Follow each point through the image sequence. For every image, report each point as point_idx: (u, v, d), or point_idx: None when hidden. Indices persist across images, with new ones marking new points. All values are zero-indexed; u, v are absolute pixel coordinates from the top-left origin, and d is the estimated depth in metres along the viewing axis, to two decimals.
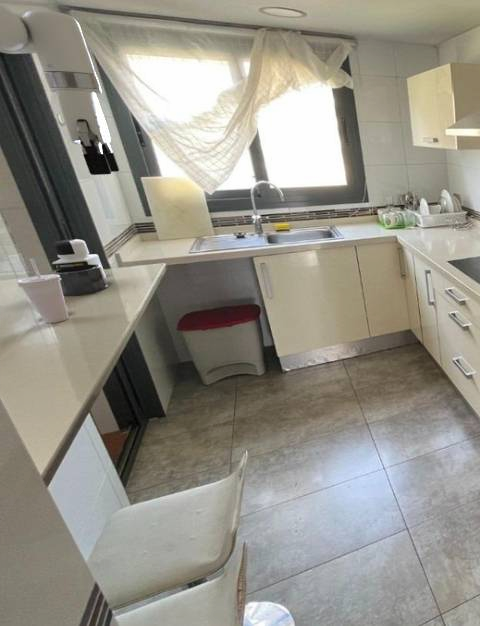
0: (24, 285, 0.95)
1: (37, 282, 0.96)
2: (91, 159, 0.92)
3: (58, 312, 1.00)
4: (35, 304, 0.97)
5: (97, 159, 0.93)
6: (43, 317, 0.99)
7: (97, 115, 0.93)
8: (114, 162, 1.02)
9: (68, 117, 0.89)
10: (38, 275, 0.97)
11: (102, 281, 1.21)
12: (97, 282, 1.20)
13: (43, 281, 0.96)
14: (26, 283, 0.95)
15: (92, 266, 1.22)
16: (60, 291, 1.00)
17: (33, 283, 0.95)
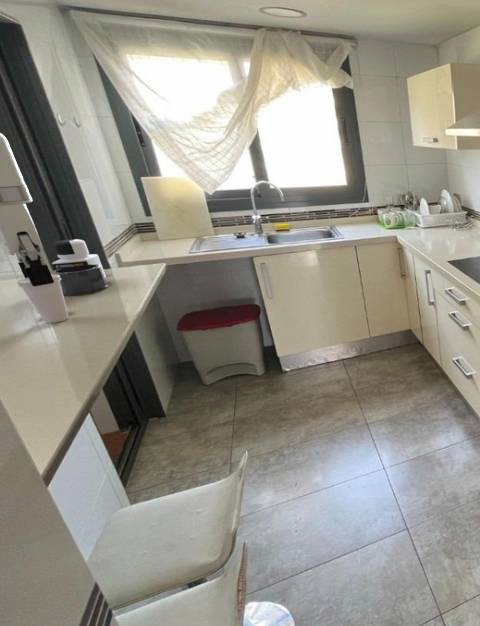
0: (24, 285, 0.95)
1: None
2: (35, 271, 0.94)
3: (58, 312, 1.00)
4: (35, 304, 0.97)
5: (40, 271, 0.95)
6: (43, 317, 0.99)
7: (34, 225, 0.94)
8: None
9: (7, 231, 0.90)
10: None
11: (102, 281, 1.21)
12: (97, 282, 1.20)
13: None
14: (26, 283, 0.95)
15: (92, 266, 1.22)
16: (60, 291, 1.00)
17: None
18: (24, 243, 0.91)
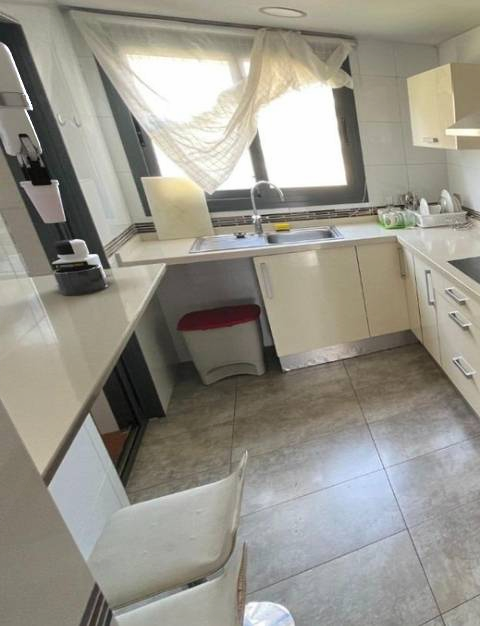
0: (26, 185, 1.06)
1: None
2: (35, 172, 1.05)
3: (56, 213, 1.11)
4: (35, 203, 1.09)
5: (39, 172, 1.06)
6: (43, 217, 1.10)
7: (34, 130, 1.05)
8: None
9: (10, 132, 1.01)
10: None
11: (102, 281, 1.21)
12: (97, 282, 1.20)
13: None
14: (27, 183, 1.06)
15: (92, 266, 1.22)
16: (58, 194, 1.11)
17: None
18: (25, 143, 1.02)
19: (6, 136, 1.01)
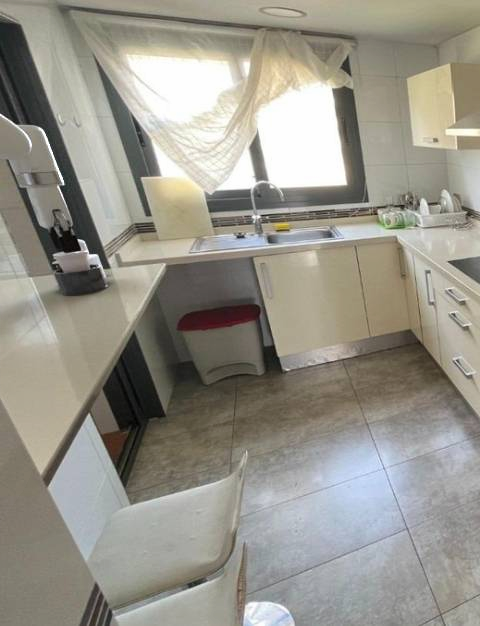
0: (59, 257, 1.14)
1: (69, 255, 1.15)
2: (66, 240, 1.12)
3: None
4: None
5: (70, 240, 1.13)
6: None
7: None
8: None
9: (44, 208, 1.09)
10: None
11: (102, 281, 1.21)
12: (97, 282, 1.20)
13: (74, 254, 1.16)
14: (60, 256, 1.14)
15: (92, 266, 1.22)
16: (87, 264, 1.19)
17: (66, 256, 1.15)
18: (57, 215, 1.09)
19: (41, 212, 1.09)
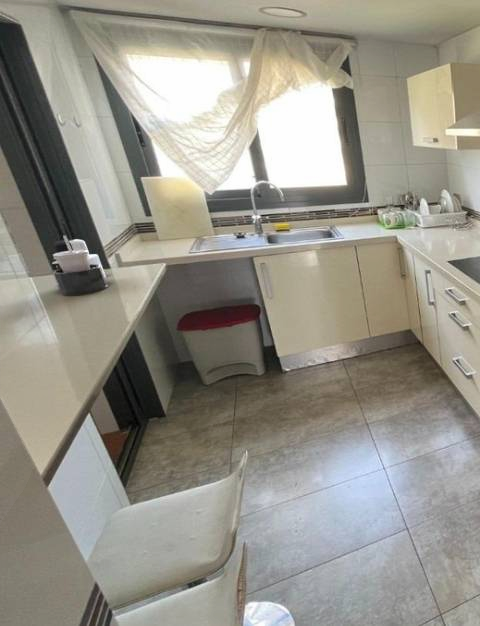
0: (59, 257, 1.14)
1: (69, 255, 1.15)
2: None
3: None
4: None
5: None
6: None
7: None
8: None
9: None
10: (70, 250, 1.16)
11: (102, 281, 1.21)
12: (97, 282, 1.20)
13: (74, 254, 1.16)
14: (60, 256, 1.14)
15: (92, 266, 1.22)
16: (87, 264, 1.19)
17: (66, 256, 1.15)
18: None
19: None
